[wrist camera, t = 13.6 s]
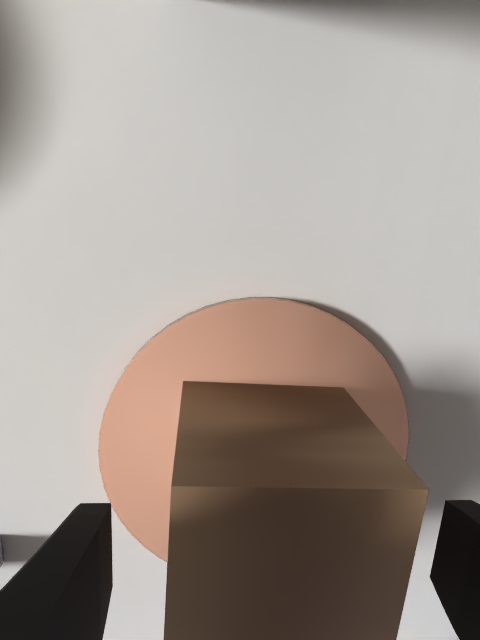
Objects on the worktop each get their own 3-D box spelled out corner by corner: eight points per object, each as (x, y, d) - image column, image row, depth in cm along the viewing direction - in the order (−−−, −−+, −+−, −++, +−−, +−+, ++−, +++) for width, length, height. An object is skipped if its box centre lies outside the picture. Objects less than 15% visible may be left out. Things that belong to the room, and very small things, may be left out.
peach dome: (436, 491, 13) (447, 504, 13) (191, 606, 14) (190, 624, 13) (335, 241, 11) (342, 242, 11) (42, 385, 11) (33, 394, 11)
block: (343, 387, 12) (428, 489, 7) (322, 522, 13) (386, 683, 8) (182, 380, 11) (170, 486, 7) (175, 522, 12) (161, 691, 8)
